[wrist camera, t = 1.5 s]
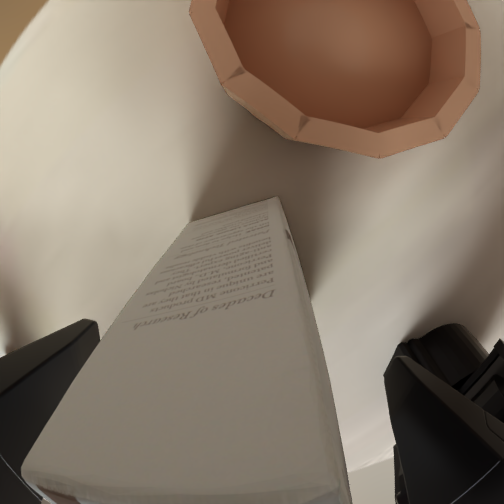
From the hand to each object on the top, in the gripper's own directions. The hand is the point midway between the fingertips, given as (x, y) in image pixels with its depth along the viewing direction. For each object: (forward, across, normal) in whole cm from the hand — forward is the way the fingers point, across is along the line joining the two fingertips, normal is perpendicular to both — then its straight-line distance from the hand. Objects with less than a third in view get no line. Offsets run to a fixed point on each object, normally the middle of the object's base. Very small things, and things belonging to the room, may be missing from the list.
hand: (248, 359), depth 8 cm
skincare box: (+6, 0, 0) cm, 7 cm away
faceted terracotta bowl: (+6, -2, -11) cm, 13 cm away
